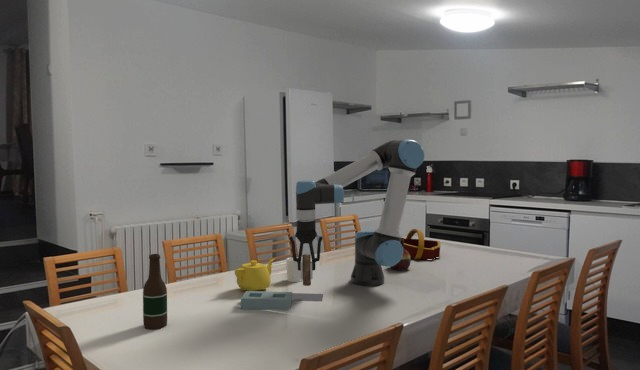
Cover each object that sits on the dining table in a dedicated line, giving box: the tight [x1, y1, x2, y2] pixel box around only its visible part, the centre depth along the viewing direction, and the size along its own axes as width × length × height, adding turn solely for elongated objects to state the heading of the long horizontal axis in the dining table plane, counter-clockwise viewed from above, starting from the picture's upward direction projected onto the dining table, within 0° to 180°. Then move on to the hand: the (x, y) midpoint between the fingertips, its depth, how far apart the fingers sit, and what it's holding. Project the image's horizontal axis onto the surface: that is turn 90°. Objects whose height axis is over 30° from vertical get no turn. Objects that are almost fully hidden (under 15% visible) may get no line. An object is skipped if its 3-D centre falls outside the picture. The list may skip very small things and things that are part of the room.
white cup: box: [285, 256, 303, 283], centre depth 228 cm, size 8×8×10 cm
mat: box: [292, 292, 324, 302], centre depth 202 cm, size 14×10×1 cm
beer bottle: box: [142, 253, 168, 331], centre depth 168 cm, size 8×8×24 cm
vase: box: [390, 237, 412, 271], centre depth 254 cm, size 11×11×15 cm
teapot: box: [234, 258, 276, 292], centre depth 213 cm, size 13×20×12 cm
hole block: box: [240, 290, 293, 311], centre depth 192 cm, size 18×10×4 cm, turn 87°
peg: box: [302, 253, 312, 287], centre depth 202 cm, size 3×3×12 cm
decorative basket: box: [403, 228, 441, 260], centre depth 289 cm, size 34×29×15 cm
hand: (306, 278), depth 202 cm, fingers closed on peg, 3 cm apart
